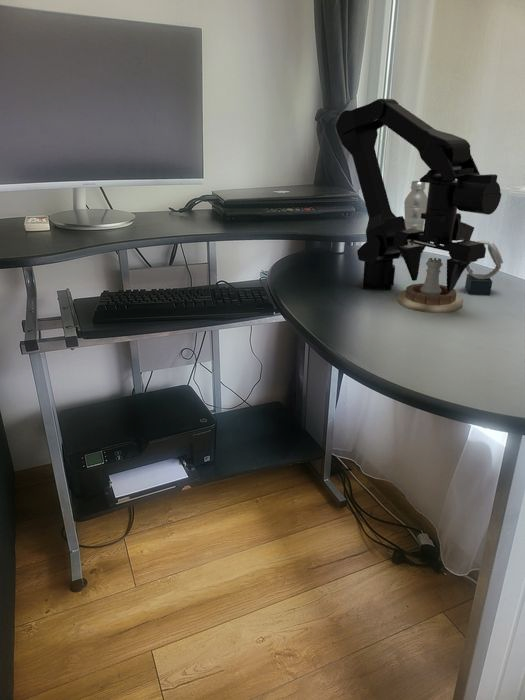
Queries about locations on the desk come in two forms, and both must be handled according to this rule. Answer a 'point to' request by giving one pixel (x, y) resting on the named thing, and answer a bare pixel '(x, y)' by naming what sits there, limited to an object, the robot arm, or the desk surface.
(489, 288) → the watch
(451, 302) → the well tray
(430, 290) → the rook chess piece
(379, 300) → the desk surface
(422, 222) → the plastic bottle
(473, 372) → the desk surface
